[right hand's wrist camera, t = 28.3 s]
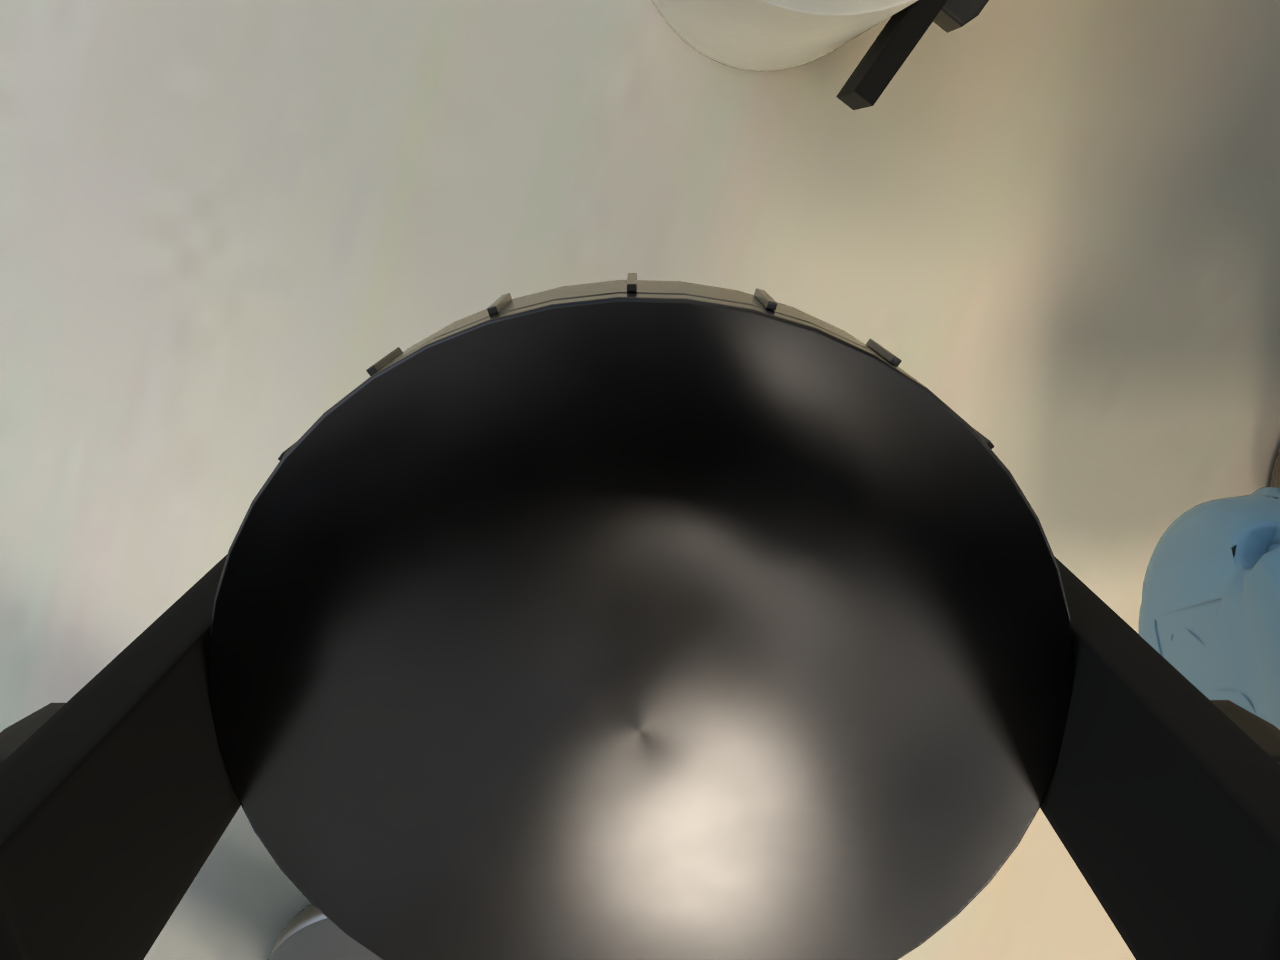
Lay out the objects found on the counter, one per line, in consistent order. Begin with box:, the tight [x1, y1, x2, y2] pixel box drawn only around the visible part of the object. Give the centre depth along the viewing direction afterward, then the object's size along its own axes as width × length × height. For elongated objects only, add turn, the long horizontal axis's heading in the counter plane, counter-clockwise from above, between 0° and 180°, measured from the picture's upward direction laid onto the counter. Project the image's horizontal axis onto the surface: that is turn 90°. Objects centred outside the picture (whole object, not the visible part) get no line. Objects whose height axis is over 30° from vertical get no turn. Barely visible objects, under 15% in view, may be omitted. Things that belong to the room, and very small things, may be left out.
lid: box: [208, 273, 1074, 960], centre depth 11 cm, size 11×11×2 cm
